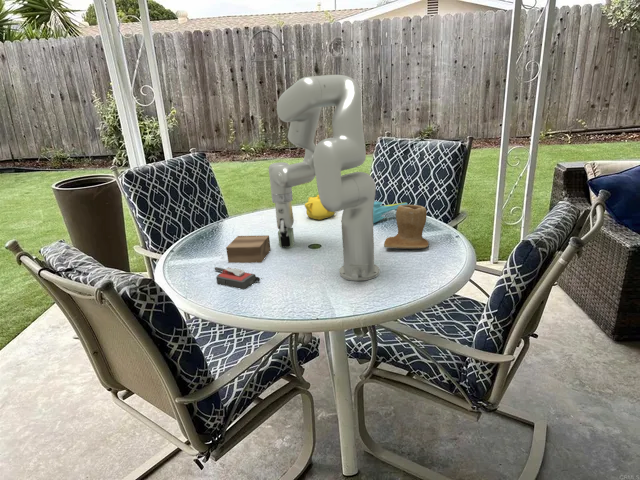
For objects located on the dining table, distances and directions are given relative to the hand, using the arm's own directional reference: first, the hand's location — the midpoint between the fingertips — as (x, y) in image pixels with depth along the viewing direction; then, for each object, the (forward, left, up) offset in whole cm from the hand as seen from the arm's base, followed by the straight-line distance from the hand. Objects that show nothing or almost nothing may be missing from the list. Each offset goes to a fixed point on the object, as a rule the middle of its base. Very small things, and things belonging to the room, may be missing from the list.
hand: (286, 243), depth 167 cm
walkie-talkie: (-30, +14, -1) cm, 33 cm away
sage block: (0, 0, -1) cm, 1 cm away
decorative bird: (+18, -34, -1) cm, 38 cm away
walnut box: (-10, +12, -1) cm, 16 cm away
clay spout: (-6, -44, -1) cm, 44 cm away
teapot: (+35, -11, -1) cm, 37 cm away
